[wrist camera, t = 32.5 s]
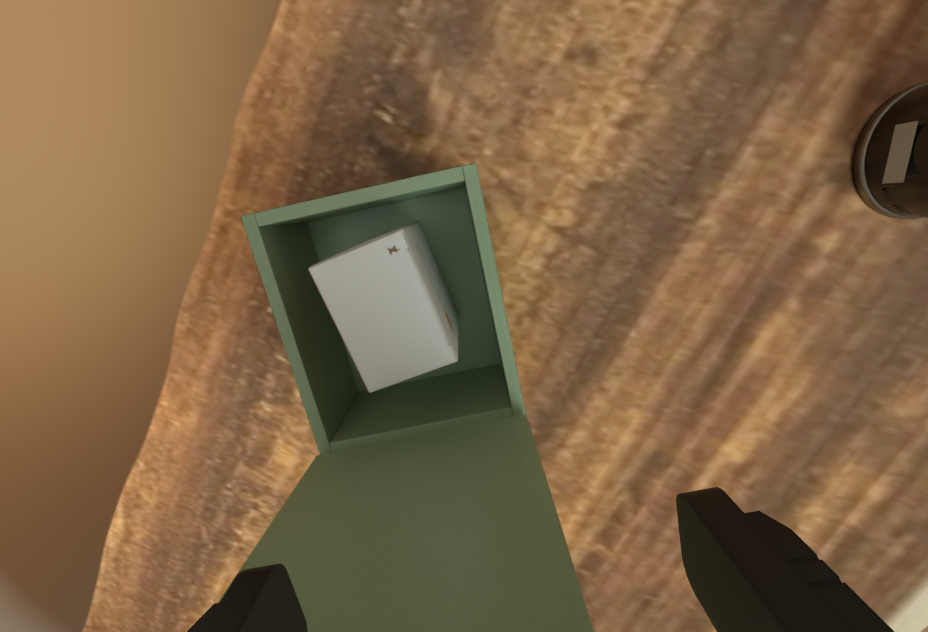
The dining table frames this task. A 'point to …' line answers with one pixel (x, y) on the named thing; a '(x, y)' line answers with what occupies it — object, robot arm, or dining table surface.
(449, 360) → the small box
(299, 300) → the chest
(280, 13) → the dining table surface
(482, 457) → the lid
